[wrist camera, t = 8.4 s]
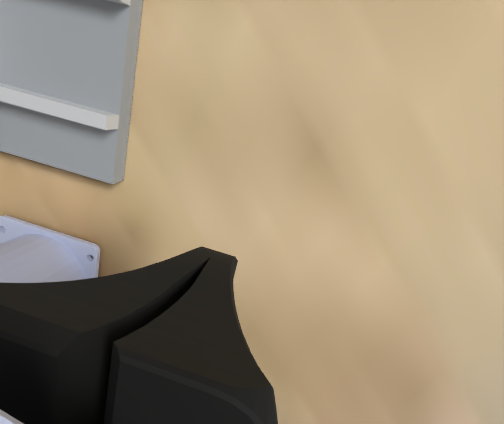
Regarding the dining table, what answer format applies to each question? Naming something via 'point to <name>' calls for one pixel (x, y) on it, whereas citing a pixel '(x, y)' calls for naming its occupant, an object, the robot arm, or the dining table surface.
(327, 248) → the dining table surface
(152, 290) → the robot arm
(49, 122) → the track
